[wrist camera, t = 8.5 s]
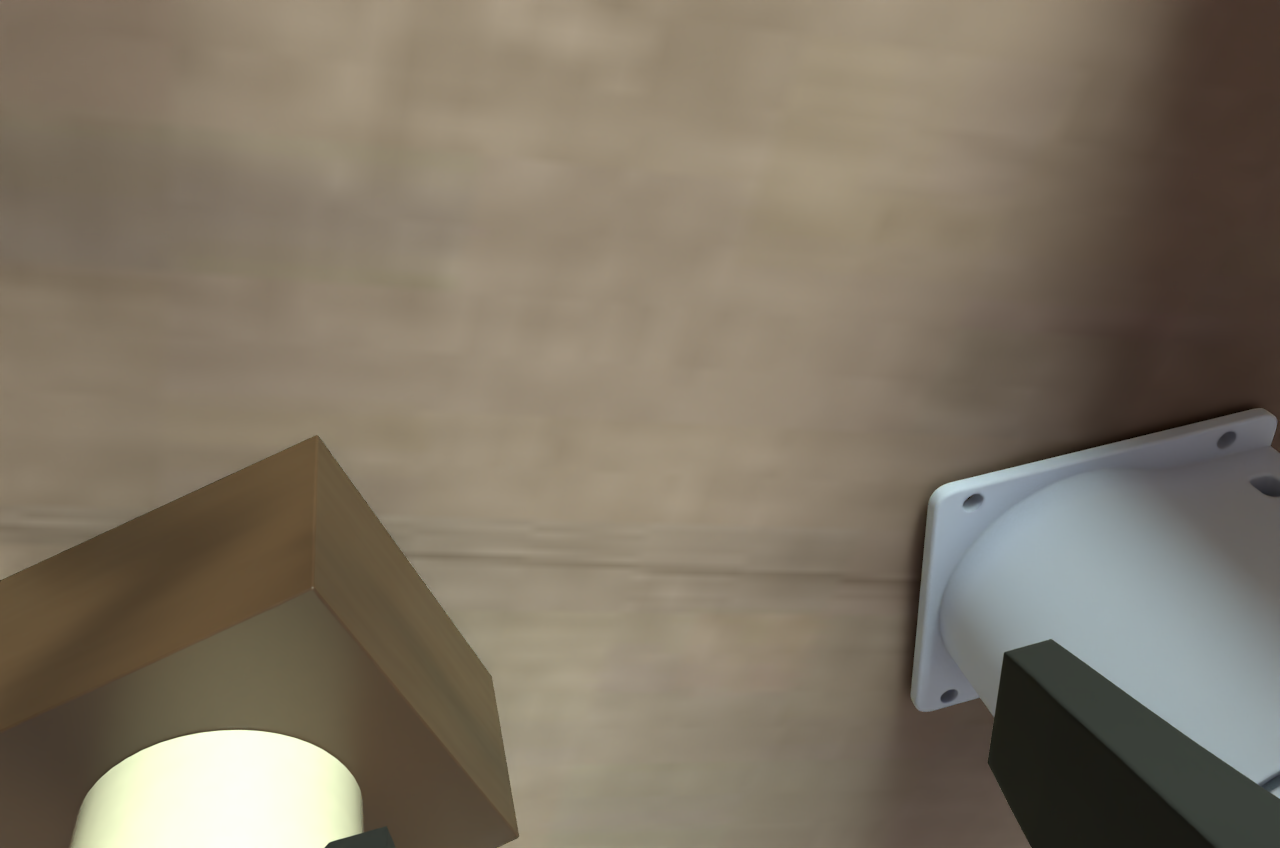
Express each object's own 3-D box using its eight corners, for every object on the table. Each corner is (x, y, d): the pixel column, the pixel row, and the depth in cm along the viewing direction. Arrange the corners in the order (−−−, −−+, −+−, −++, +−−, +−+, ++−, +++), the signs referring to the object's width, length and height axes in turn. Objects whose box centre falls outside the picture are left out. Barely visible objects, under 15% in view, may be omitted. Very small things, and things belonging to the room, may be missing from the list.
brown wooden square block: (317, 433, 19) (313, 586, 16) (492, 676, 24) (519, 838, 20) (-58, 606, 19) (-149, 799, 16) (190, 815, 24) (164, 1002, 20)
